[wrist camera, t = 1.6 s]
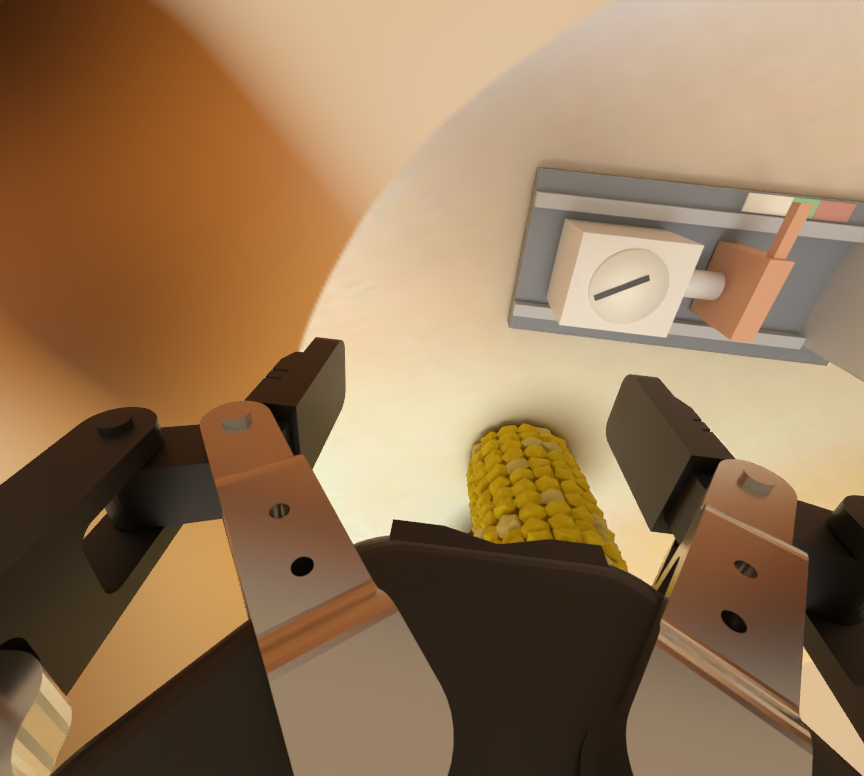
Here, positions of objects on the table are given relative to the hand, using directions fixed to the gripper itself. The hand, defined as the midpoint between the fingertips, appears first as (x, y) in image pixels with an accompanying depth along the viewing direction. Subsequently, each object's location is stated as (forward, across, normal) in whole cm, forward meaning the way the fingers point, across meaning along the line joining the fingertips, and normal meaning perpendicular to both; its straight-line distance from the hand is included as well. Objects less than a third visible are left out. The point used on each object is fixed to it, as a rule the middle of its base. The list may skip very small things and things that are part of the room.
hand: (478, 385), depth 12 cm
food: (+19, -7, +18) cm, 27 cm away
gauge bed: (+18, -14, 0) cm, 23 cm away
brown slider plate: (+17, -15, -2) cm, 23 cm away
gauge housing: (+17, -10, 0) cm, 20 cm away
